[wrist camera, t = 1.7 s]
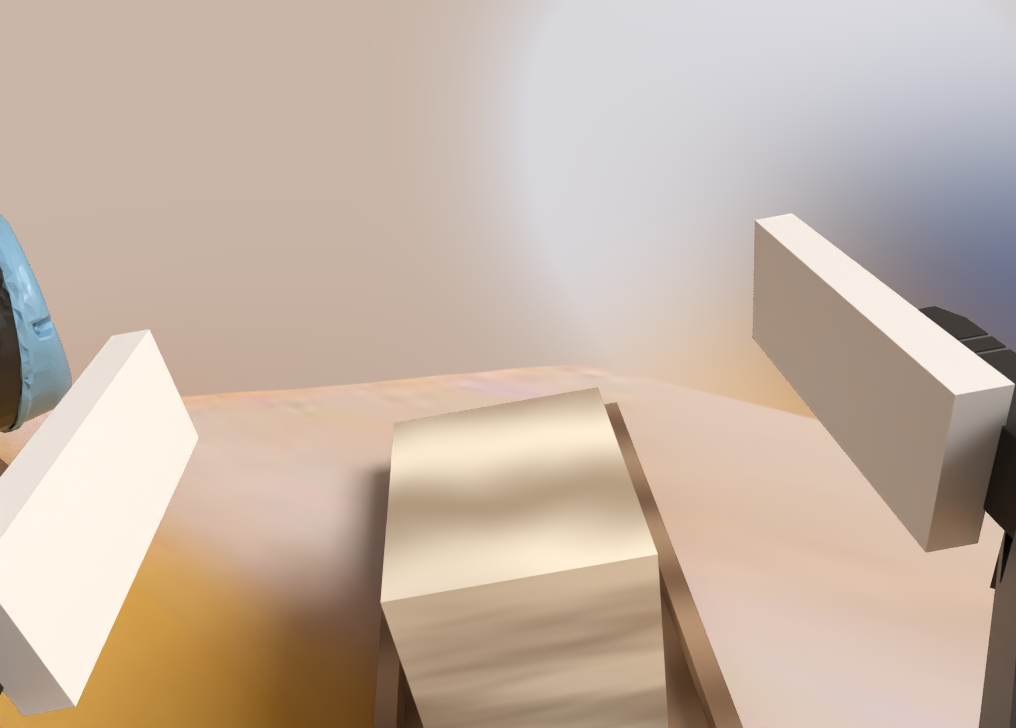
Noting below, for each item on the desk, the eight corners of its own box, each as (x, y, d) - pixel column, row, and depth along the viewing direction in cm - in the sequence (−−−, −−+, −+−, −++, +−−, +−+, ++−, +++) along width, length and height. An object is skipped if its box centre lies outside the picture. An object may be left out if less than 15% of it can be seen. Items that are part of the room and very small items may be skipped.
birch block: (446, 608, 38) (394, 422, 32) (617, 579, 38) (597, 387, 32) (450, 804, 30) (380, 602, 24) (670, 766, 30) (657, 554, 24)
